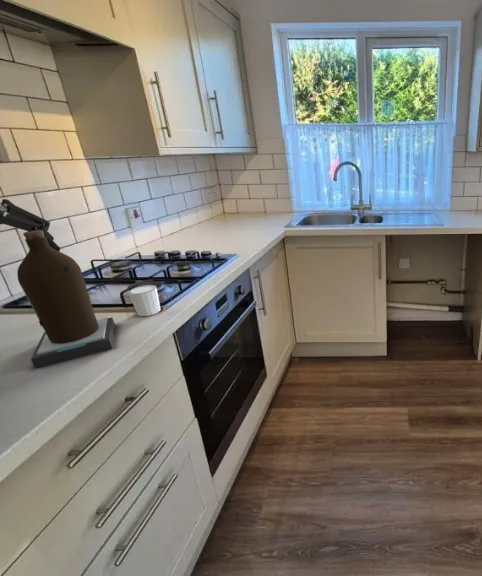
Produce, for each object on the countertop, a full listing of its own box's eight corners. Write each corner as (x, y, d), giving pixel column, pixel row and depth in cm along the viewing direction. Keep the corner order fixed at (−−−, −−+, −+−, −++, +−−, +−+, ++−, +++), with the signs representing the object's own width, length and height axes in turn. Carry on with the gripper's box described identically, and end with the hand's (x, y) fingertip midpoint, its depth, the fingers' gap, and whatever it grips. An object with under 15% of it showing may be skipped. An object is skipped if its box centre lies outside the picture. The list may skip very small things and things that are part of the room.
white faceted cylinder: (147, 318, 100) (139, 295, 97) (129, 315, 102) (121, 292, 99) (168, 308, 106) (162, 286, 103) (151, 305, 108) (144, 283, 105)
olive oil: (108, 319, 93) (73, 224, 83) (93, 339, 84) (51, 234, 74) (58, 327, 90) (15, 228, 80) (36, 349, 80) (-15, 240, 71)
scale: (35, 368, 79) (29, 356, 78) (47, 340, 90) (42, 330, 89) (112, 348, 86) (108, 337, 85) (115, 325, 97) (111, 315, 96)
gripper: (-137, 186, 67) (-50, 269, 69) (21, 173, 89) (85, 236, 90) (-136, 213, 71) (-53, 291, 72) (17, 194, 93) (78, 254, 94)
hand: (24, 260), depth 81 cm, fingers open, 13 cm apart
